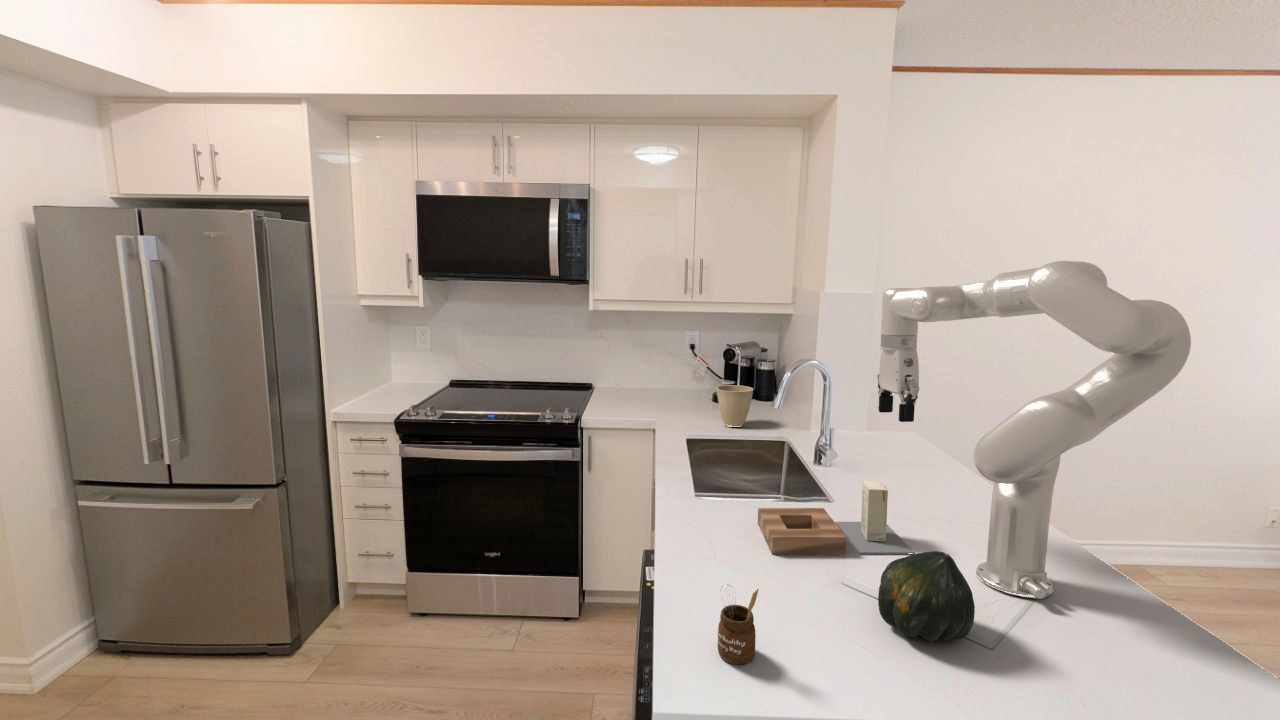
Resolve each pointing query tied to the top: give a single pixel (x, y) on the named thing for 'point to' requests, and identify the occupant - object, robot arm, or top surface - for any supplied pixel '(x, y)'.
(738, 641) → the utensil holder
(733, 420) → the plant pot
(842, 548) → the pocket block
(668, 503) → the top surface
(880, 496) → the skincare box
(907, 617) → the squash
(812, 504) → the top surface
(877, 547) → the slate mat
